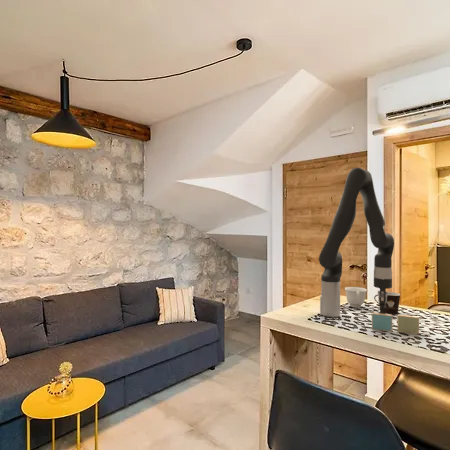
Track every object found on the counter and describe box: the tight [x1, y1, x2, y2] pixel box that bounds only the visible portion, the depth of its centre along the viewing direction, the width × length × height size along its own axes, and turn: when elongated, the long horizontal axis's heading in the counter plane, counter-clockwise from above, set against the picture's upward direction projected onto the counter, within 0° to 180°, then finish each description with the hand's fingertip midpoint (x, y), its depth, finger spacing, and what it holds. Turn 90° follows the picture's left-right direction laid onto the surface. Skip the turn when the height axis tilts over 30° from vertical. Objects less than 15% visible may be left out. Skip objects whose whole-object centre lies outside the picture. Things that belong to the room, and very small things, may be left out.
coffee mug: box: [373, 291, 401, 315], centre depth 170 cm, size 12×9×10 cm
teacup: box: [344, 286, 368, 309], centre depth 180 cm, size 12×15×10 cm
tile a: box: [371, 312, 393, 333], centre depth 141 cm, size 8×2×7 cm, turn 62°
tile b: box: [396, 313, 420, 335], centre depth 138 cm, size 8×2×7 cm, turn 63°
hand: (382, 315), depth 146 cm, fingers closed
